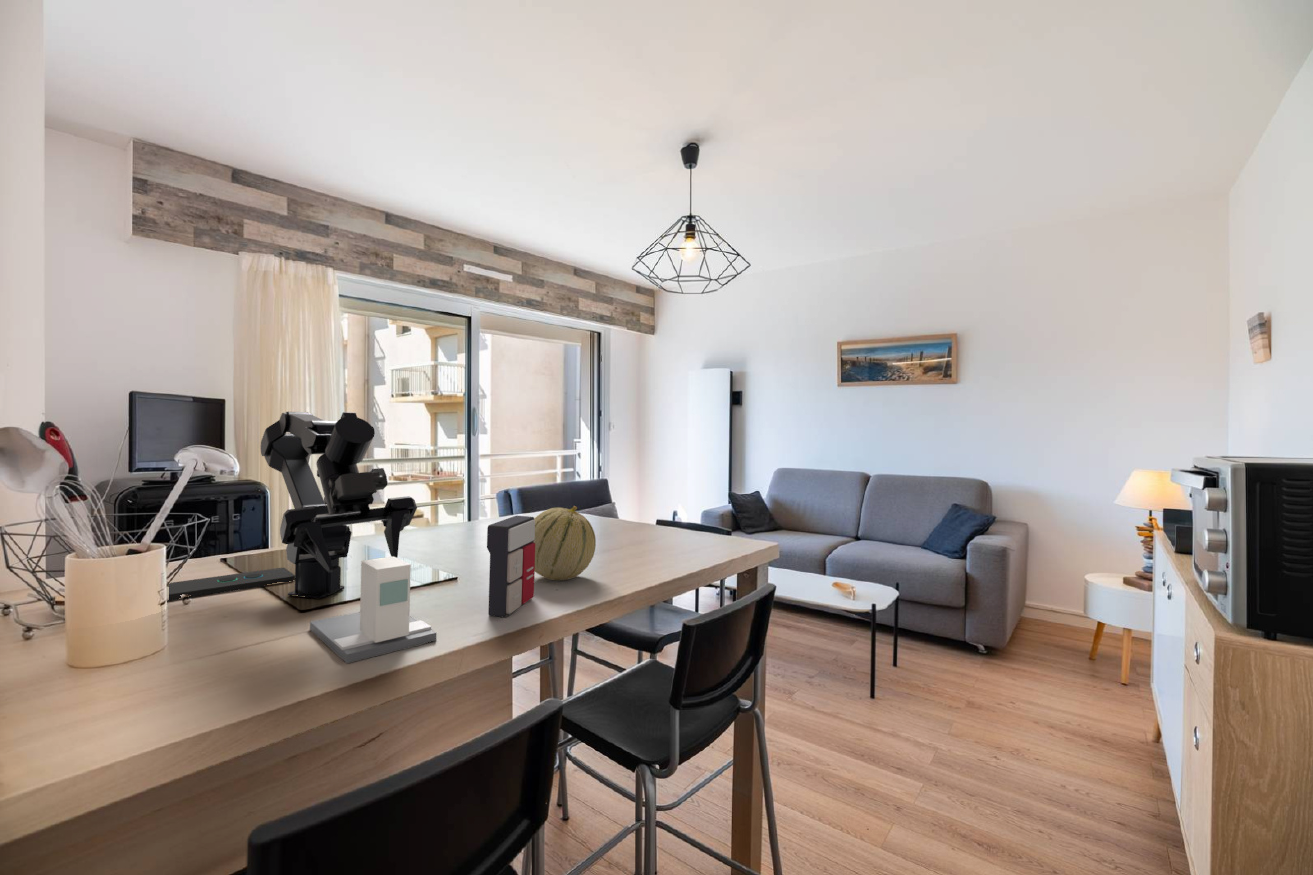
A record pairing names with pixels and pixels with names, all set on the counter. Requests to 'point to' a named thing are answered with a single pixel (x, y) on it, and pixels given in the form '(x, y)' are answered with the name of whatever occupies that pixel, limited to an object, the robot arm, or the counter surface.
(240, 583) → the smart home device
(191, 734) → the counter surface
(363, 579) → the block
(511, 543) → the grey red panelled box
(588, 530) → the cantaloupe
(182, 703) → the counter surface
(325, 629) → the grey flat rectangular slab
